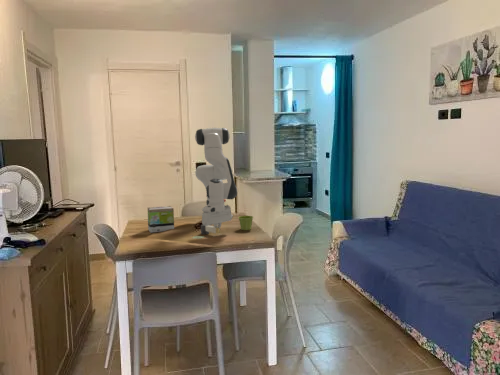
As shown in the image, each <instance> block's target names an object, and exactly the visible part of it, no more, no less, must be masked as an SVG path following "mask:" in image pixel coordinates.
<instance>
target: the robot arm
mask: <svg viewBox="0 0 500 375" xmlns="http://www.w3.org/2000/svg"><path fill="white" fill-rule="evenodd" d="M230 135H231V134H230V132H229V129H227V128H226V127H209V128H203V129H202V128H200V129H197V130H196V131H195V135H194V139H195V142H196V144H197V145H198V146H204V148H203V149H204V150H203V151H204V152H203V153H204V159H205V160H206V162H208V164H203V165H198V166H197V167H196V169H195V172H194V173H195V177H196V178H197V179H198V180H199V181H200V182H201V183H202V184H203V186H204V187H205V191H206V205H205V206H204V207H202V209H201V210H202V214H201V223H202V224H201V225H206V226H208V225H209V226H214V227H218V228H219V231H220V230H221V227H222V223H225V222H229V221H232V219H233V217H234V215H233V214H232V209H231V206H230V205H228V204H227V205H226V204H225V203H226V202H227V201H226V200H234V199H235V198H236V197H237V196H238V187H237V185H236V182H235V181H236V180H235V178H234V174H233V170H232V166H231V162H230V159H229V158H228V157H226V156H225V155H224V152H223V145H225V144H228V143H229V141H230V137H231V136H230ZM225 180H227V182H224V181H225Z"/></svg>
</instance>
